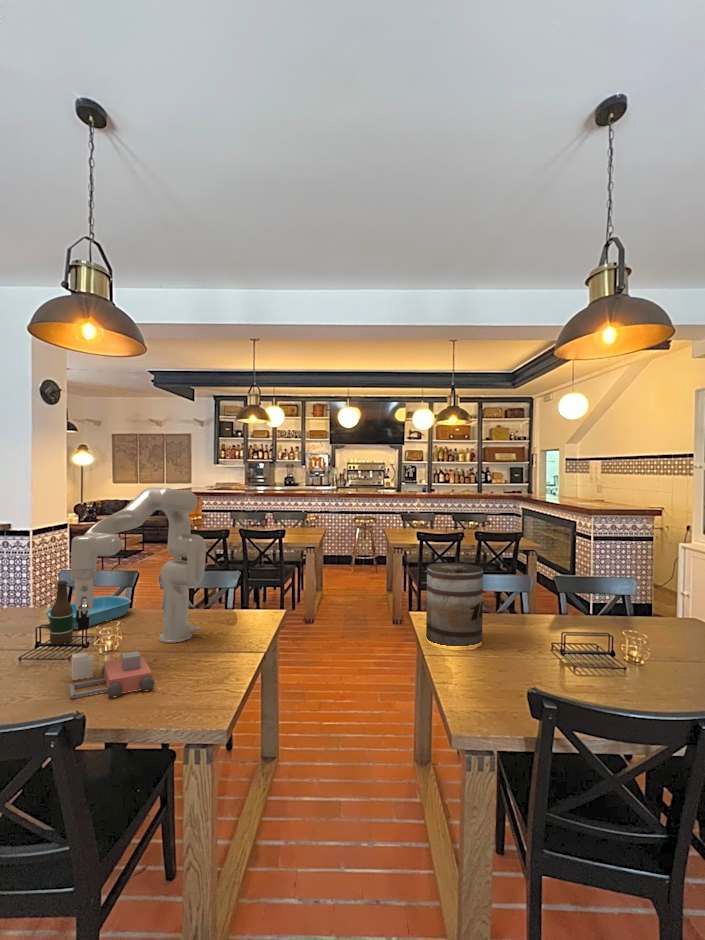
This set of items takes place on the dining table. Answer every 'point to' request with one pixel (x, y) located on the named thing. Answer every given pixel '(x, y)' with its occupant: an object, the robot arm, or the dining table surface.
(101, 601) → the casserole dish
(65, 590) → the beer bottle
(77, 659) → the stepped cream block
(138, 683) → the pink toy truck
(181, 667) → the dining table surface
